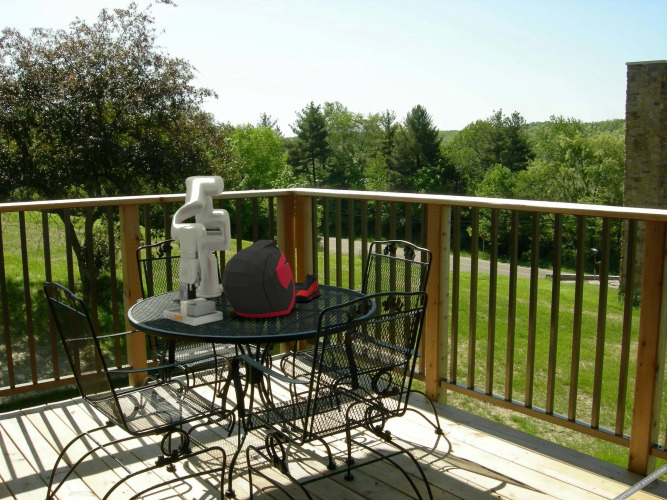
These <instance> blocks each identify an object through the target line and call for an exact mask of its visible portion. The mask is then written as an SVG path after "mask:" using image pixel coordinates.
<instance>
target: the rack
mask: <svg viewBox="0 0 667 500" xmlns="http://www.w3.org/2000/svg"><path fill="white" fill-rule="evenodd" d="M162 313H163V318H164V319H167V320H170V321H175V322H178V323H182V324H185V325H190V326H194V327H195V326H200V325H203V324H209V323H212V322H216V321H217V322H218V321H221V320H223V319H224V317H223V312H222V311H218V310H216V301H213V300H206V301H204V302H199V303H194V304H189V314H188V315H182V314H181V306H179V307H174V308H171V309H170V308H169V309H166V310H163V311H162Z"/></svg>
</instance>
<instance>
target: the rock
mask: <svg viewBox="0 0 667 500" xmlns="http://www.w3.org/2000/svg"><path fill="white" fill-rule="evenodd" d="M178 288H179V289H178V290H179V295H178V296H179V304H180V305H181V303H180V302H182V301H187V300H189V299H188V296H187V289H186V285H185V284H183V282H181V283H180V284H179V285H178Z"/></svg>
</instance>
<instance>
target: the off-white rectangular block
mask: <svg viewBox="0 0 667 500" xmlns="http://www.w3.org/2000/svg"><path fill="white" fill-rule="evenodd" d="M204 301H207V298H199V297H196V299H193V300H187V301H182V302H180V301H179V304H180V303H181V304H180V307H181V314H182V315H188V314H189V304H194V303H199V302H204Z"/></svg>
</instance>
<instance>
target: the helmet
mask: <svg viewBox="0 0 667 500" xmlns="http://www.w3.org/2000/svg"><path fill="white" fill-rule="evenodd" d="M286 259H287V257H285V254H284V253H283V251H281V250H280V248H279V247H278V245H277V244H276V243H275V242H274V241H273V240H270V239H260V240H258V241H256V242H254V243H252V244H250V245H249V246H247V247H245V248H242V249H240V250H239V251H238V252H236V253H235V254H233V256H232V257H230V259H229V260H227V262H226V263H225V267H224V269H223V272H222V275H221V278H220V281H221V286H223V290H222V291H223V295H224V296H225V297H226V299H227V301H228V303H229V304H230V306H231V307H232V311H233V312H234V313H235V314H236V315H238V316H241V317H245V318H254V319H255V318H257V319H258V318H263V319H265V318H273V317H278V316H283V315H288V314H290V313H291V311H292V309H293V307H294V303H295V301H296V300H295V296H296V287H295V280H294V276H293V272H292V269H291V265H290V263H288V262H287V261H286Z"/></svg>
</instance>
